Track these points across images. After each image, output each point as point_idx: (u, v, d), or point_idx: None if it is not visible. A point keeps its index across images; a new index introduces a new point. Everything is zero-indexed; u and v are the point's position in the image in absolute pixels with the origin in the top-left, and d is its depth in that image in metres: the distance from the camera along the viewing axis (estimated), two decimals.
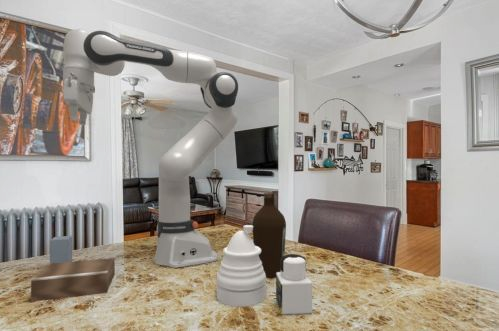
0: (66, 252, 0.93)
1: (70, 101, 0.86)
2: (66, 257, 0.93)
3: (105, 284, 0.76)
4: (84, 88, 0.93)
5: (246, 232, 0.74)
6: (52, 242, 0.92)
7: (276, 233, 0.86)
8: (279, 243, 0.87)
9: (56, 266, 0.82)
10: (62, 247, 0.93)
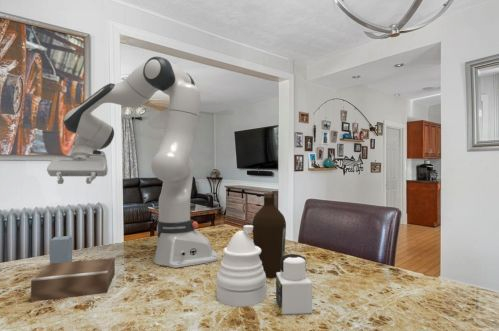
0: (66, 252, 0.93)
1: (48, 172, 1.07)
2: (66, 257, 0.93)
3: (105, 284, 0.76)
4: (73, 158, 1.12)
5: (246, 232, 0.74)
6: (52, 242, 0.92)
7: (276, 233, 0.86)
8: (279, 243, 0.87)
9: (56, 266, 0.82)
10: (62, 247, 0.93)
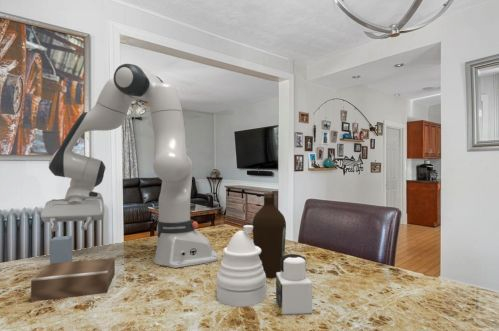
0: (66, 252, 0.93)
1: (42, 219, 1.02)
2: (66, 257, 0.93)
3: (105, 284, 0.76)
4: (68, 201, 1.07)
5: (246, 232, 0.74)
6: (52, 242, 0.92)
7: (276, 233, 0.86)
8: (279, 243, 0.87)
9: (56, 266, 0.82)
10: (62, 247, 0.93)
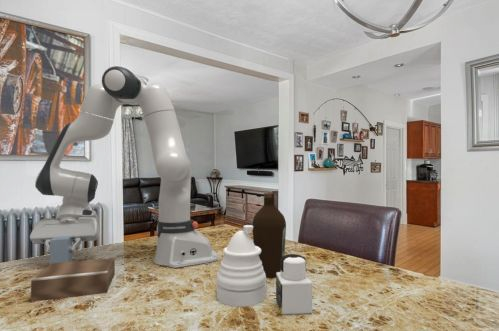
0: (66, 252, 0.93)
1: (31, 240, 0.95)
2: (66, 257, 0.93)
3: (105, 284, 0.76)
4: (60, 221, 0.99)
5: (246, 232, 0.74)
6: (52, 242, 0.92)
7: (276, 233, 0.86)
8: (279, 243, 0.87)
9: (56, 266, 0.82)
10: (62, 247, 0.92)
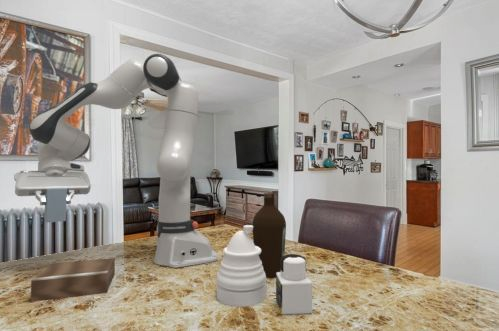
0: (65, 202, 0.90)
1: (17, 192, 0.87)
2: (65, 207, 0.90)
3: (105, 284, 0.76)
4: (46, 173, 0.93)
5: (246, 232, 0.74)
6: (50, 191, 0.87)
7: (276, 233, 0.86)
8: (279, 243, 0.87)
9: (56, 266, 0.82)
10: (61, 197, 0.89)
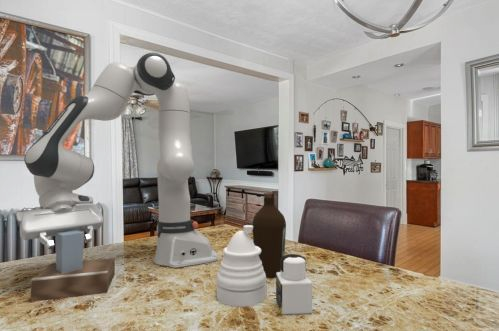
0: (81, 248, 0.80)
1: (24, 236, 0.74)
2: (81, 254, 0.80)
3: (105, 284, 0.76)
4: (54, 209, 0.82)
5: (246, 232, 0.74)
6: (65, 238, 0.77)
7: (276, 233, 0.86)
8: (279, 243, 0.87)
9: None
10: (76, 242, 0.79)
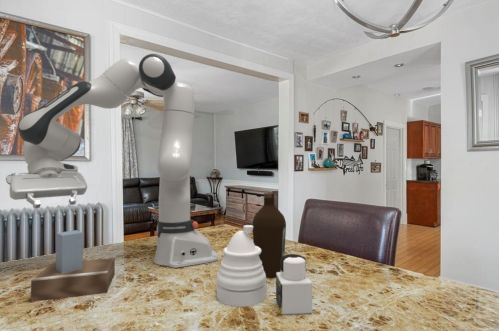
0: (81, 248, 0.80)
1: (13, 195, 0.83)
2: (81, 254, 0.80)
3: (105, 284, 0.76)
4: (41, 174, 0.90)
5: (246, 232, 0.74)
6: (65, 238, 0.77)
7: (276, 233, 0.86)
8: (279, 243, 0.87)
9: None
10: (76, 242, 0.79)
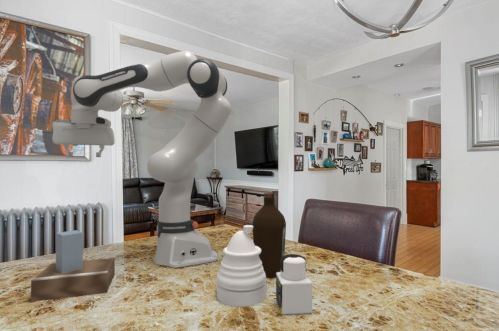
0: (81, 248, 0.80)
1: None
2: (81, 254, 0.80)
3: (105, 284, 0.76)
4: (76, 126, 1.05)
5: (246, 232, 0.74)
6: (65, 238, 0.77)
7: (276, 233, 0.86)
8: (279, 243, 0.87)
9: None
10: (76, 242, 0.79)
